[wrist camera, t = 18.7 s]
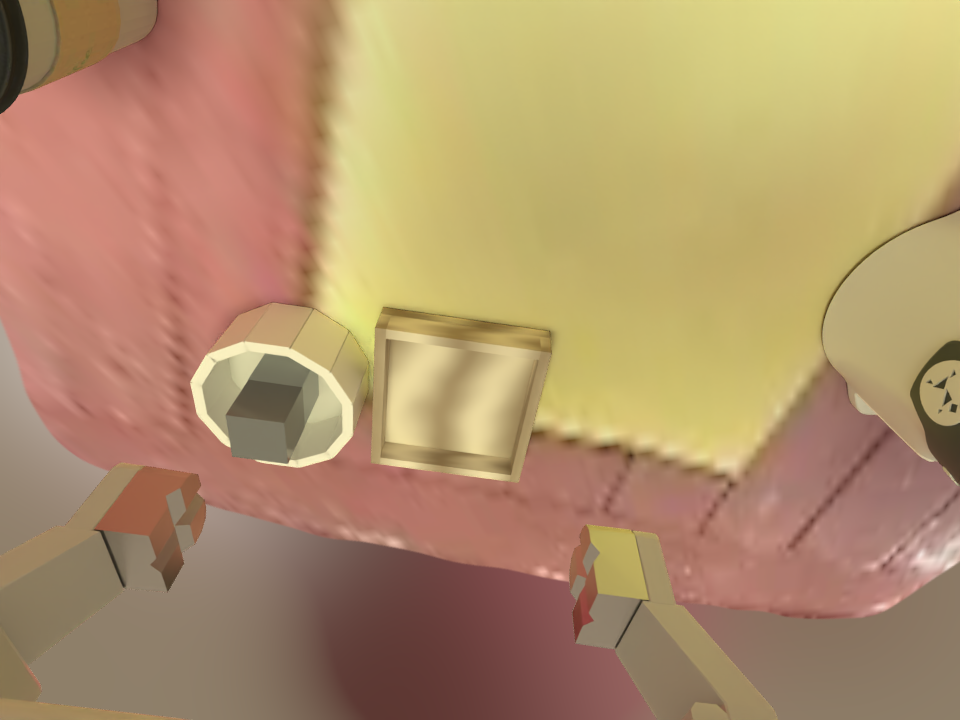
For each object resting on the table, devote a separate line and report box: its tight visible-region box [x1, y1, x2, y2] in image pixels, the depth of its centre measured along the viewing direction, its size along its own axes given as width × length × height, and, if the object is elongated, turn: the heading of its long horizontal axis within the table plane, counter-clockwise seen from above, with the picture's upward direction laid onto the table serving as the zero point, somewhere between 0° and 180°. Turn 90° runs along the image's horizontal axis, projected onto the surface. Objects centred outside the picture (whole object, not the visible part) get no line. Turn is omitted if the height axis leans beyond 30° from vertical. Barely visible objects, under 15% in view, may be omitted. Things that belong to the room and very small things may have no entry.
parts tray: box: [371, 307, 552, 483], centre depth 46 cm, size 13×14×3 cm
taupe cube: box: [248, 353, 319, 424], centre depth 44 cm, size 4×4×4 cm
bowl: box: [190, 303, 369, 468], centre depth 44 cm, size 12×12×6 cm
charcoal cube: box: [225, 380, 305, 464], centre depth 40 cm, size 4×4×4 cm
